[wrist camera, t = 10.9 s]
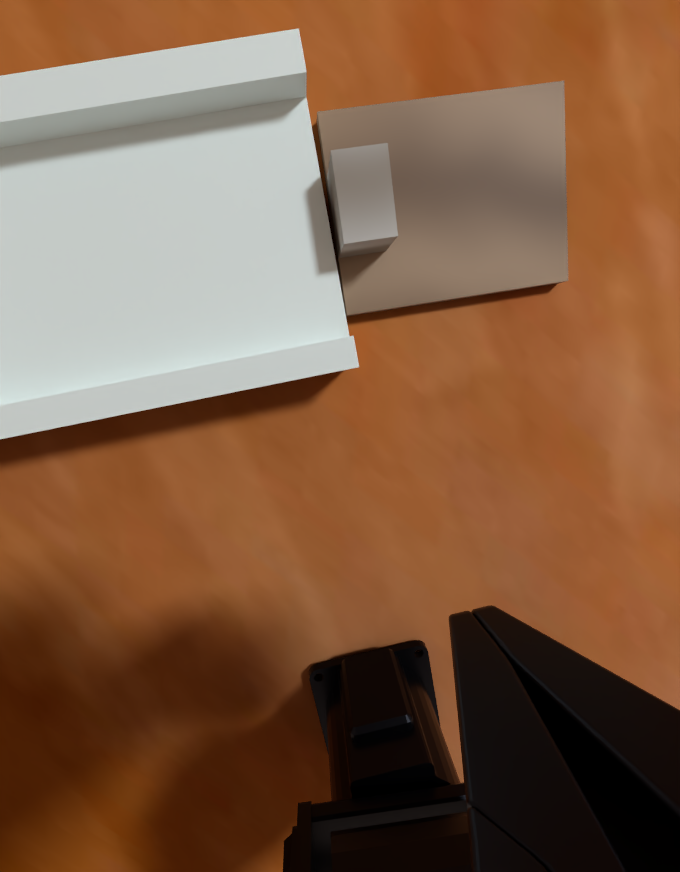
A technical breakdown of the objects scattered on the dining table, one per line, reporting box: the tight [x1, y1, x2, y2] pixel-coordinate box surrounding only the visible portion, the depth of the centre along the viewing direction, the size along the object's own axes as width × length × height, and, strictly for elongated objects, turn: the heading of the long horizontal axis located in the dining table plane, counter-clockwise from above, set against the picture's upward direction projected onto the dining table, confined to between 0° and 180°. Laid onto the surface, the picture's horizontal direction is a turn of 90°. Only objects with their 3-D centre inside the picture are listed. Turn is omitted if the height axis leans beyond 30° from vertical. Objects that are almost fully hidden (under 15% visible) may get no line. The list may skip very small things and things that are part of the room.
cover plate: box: [317, 81, 568, 316], centre depth 16 cm, size 8×10×3 cm
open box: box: [0, 29, 359, 439], centre depth 15 cm, size 11×17×3 cm, turn 101°
